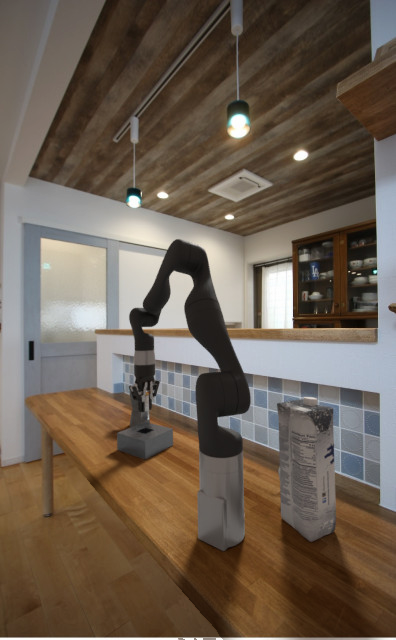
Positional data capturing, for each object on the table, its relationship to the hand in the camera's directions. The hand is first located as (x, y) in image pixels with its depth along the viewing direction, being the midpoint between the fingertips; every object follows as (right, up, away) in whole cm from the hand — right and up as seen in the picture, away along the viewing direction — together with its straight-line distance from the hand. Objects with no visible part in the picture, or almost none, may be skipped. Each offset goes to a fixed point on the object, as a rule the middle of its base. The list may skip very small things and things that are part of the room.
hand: (145, 410), depth 105 cm
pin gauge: (0, -3, 0) cm, 3 cm away
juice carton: (+43, -12, -43) cm, 61 cm away
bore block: (0, -13, 0) cm, 13 cm away
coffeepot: (-6, -14, +24) cm, 28 cm away
